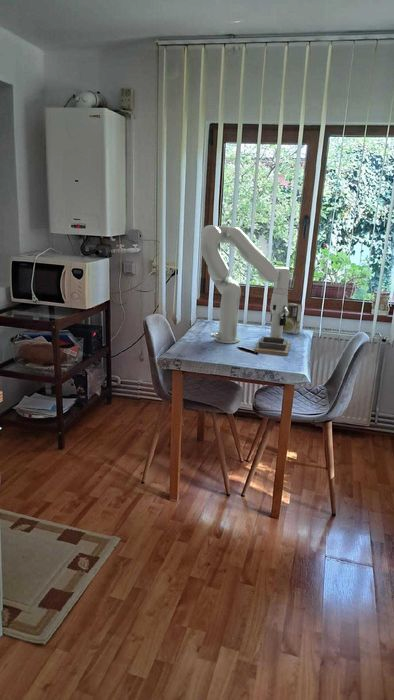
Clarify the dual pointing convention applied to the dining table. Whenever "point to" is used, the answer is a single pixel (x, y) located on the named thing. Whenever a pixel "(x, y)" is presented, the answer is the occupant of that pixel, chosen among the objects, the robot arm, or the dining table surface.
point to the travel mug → (276, 324)
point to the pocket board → (273, 345)
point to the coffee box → (293, 318)
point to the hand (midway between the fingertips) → (277, 323)
